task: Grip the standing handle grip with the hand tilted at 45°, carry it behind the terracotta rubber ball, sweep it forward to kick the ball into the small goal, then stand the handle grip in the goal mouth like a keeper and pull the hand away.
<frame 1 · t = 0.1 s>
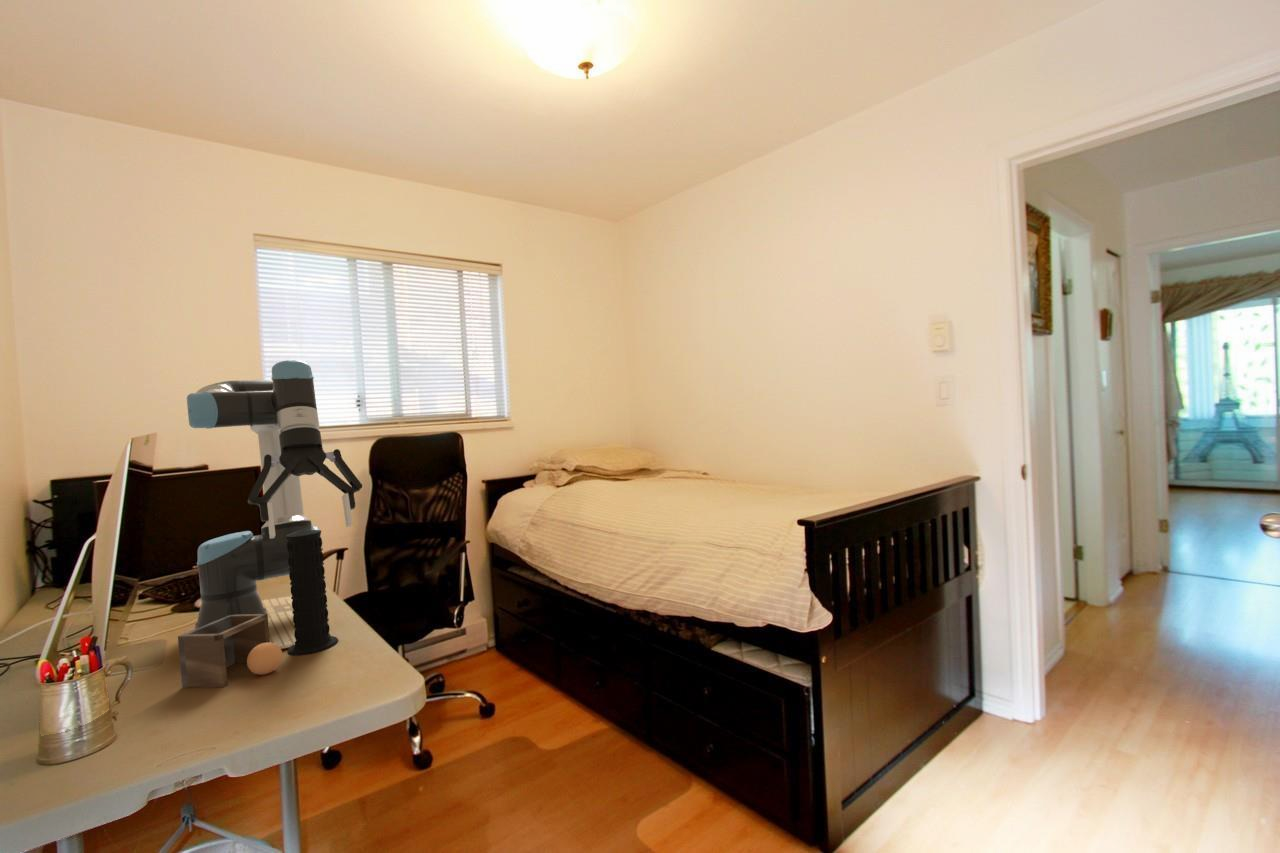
hand: (312, 531, 117), 28 cm above the table, tool tilted 20°, fingers open, 13 cm apart
goal: (228, 673, 118), on the table
handle grip: (313, 647, 130), on the table
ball: (264, 658, 117), point 3 cm above the table
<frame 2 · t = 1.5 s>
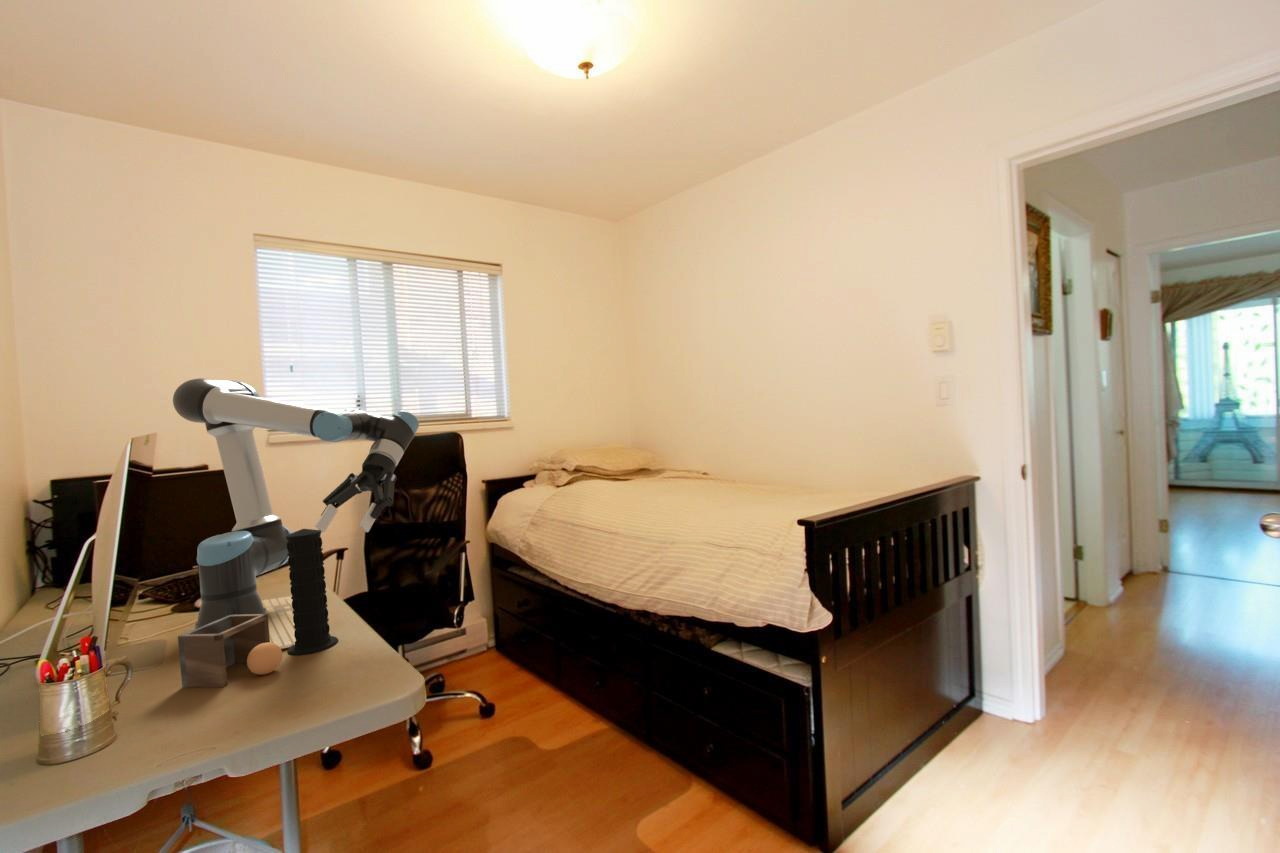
hand: (341, 529, 139), 24 cm above the table, tool tilted 45°, fingers open, 13 cm apart
nothing on the table moved.
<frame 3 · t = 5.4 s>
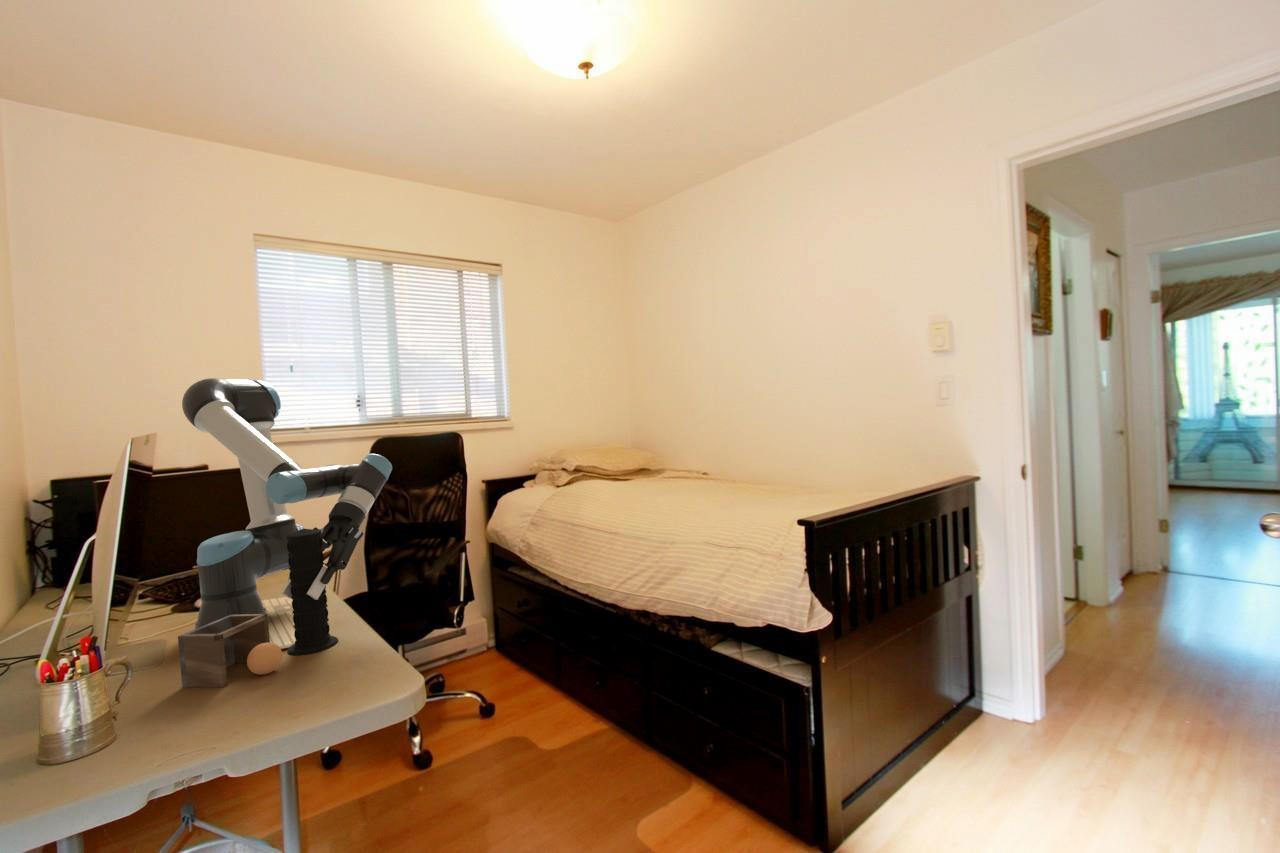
hand: (299, 596, 128), 12 cm above the table, tool tilted 45°, fingers closed on handle grip, 7 cm apart
handle grip: (313, 646, 130), on the table, touching gripper
everything else where it was.
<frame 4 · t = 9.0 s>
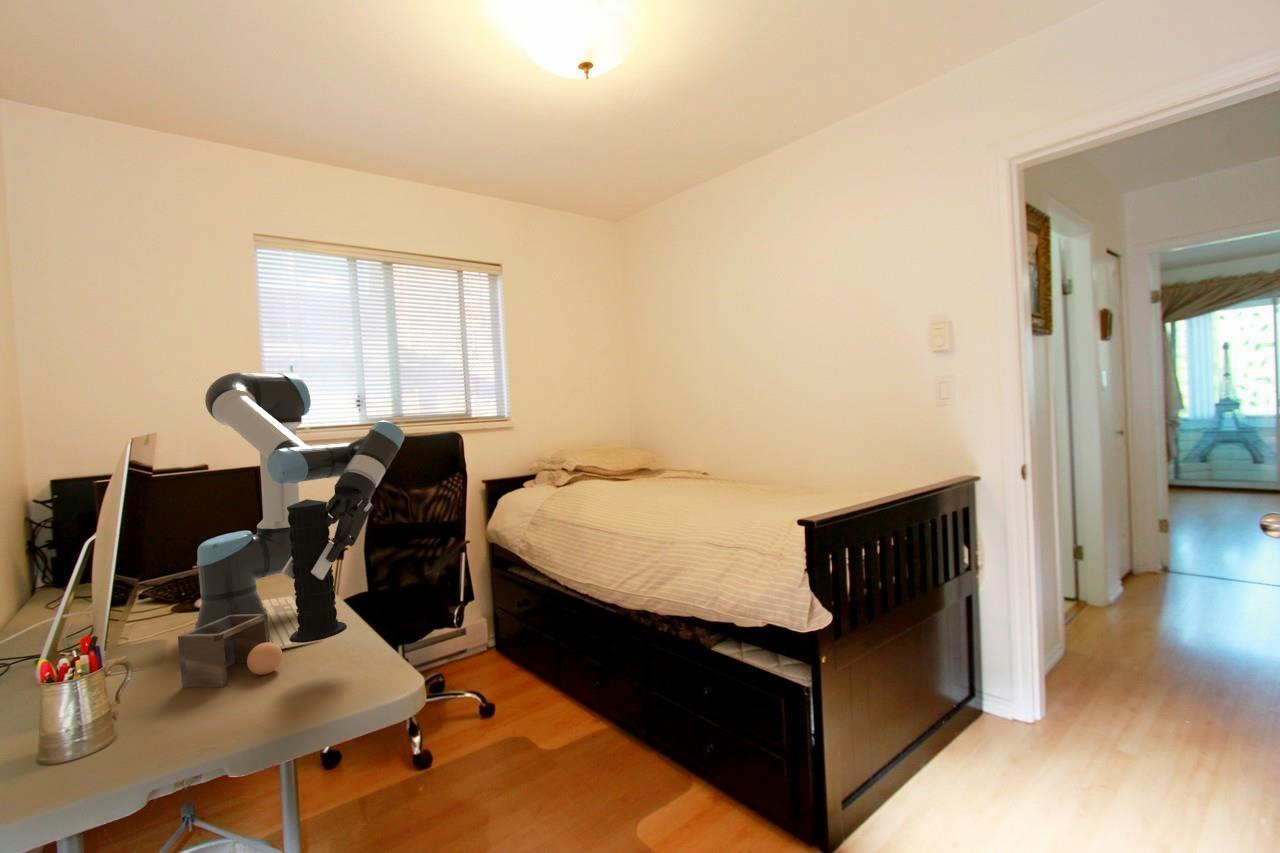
hand: (302, 575, 112), 20 cm above the table, tool tilted 45°, fingers closed on handle grip, 7 cm apart
handle grip: (319, 633, 115), point 8 cm above the table, touching gripper
everything else where it was.
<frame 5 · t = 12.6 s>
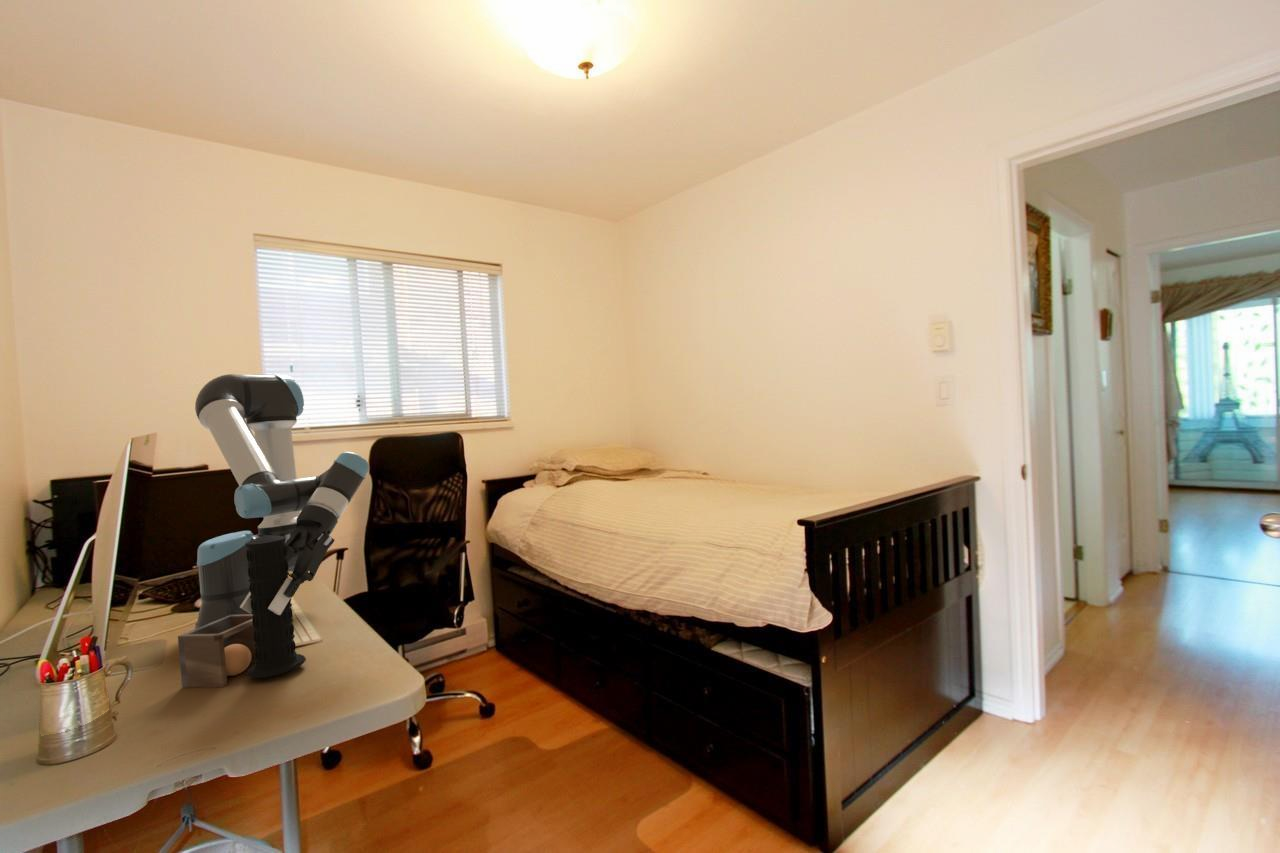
hand: (259, 610, 114), 13 cm above the table, tool tilted 45°, fingers closed on handle grip, 7 cm apart
handle grip: (277, 667, 117), point 1 cm above the table, touching gripper
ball: (233, 659, 117), point 3 cm above the table, tilted 123°
when the fingers open (13 cm above the table, at t = 12.8 s): handle grip drops 1 cm, on the table.
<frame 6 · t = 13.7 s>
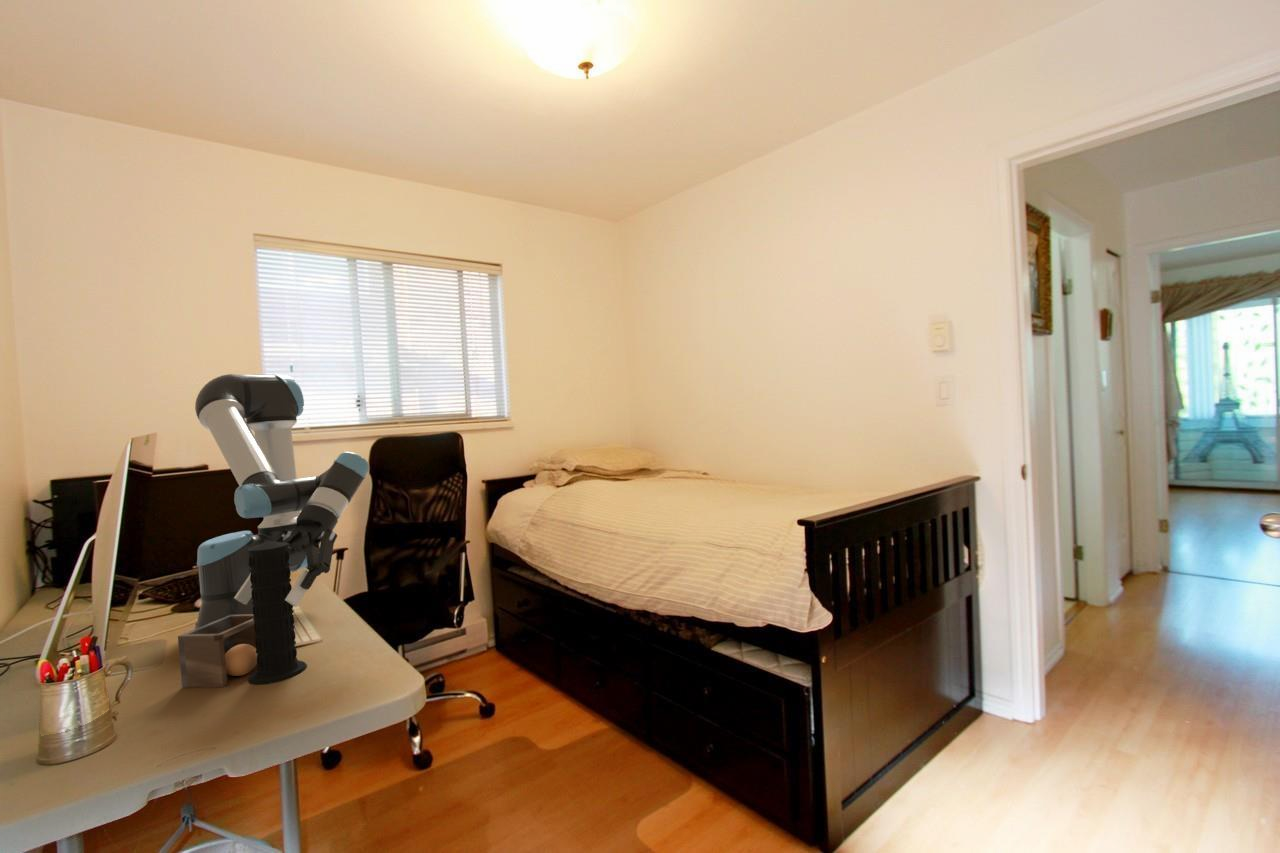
hand: (264, 602, 115), 15 cm above the table, tool tilted 45°, fingers open, 13 cm apart
handle grip: (278, 673, 117), on the table
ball: (240, 659, 117), point 3 cm above the table, tilted 91°
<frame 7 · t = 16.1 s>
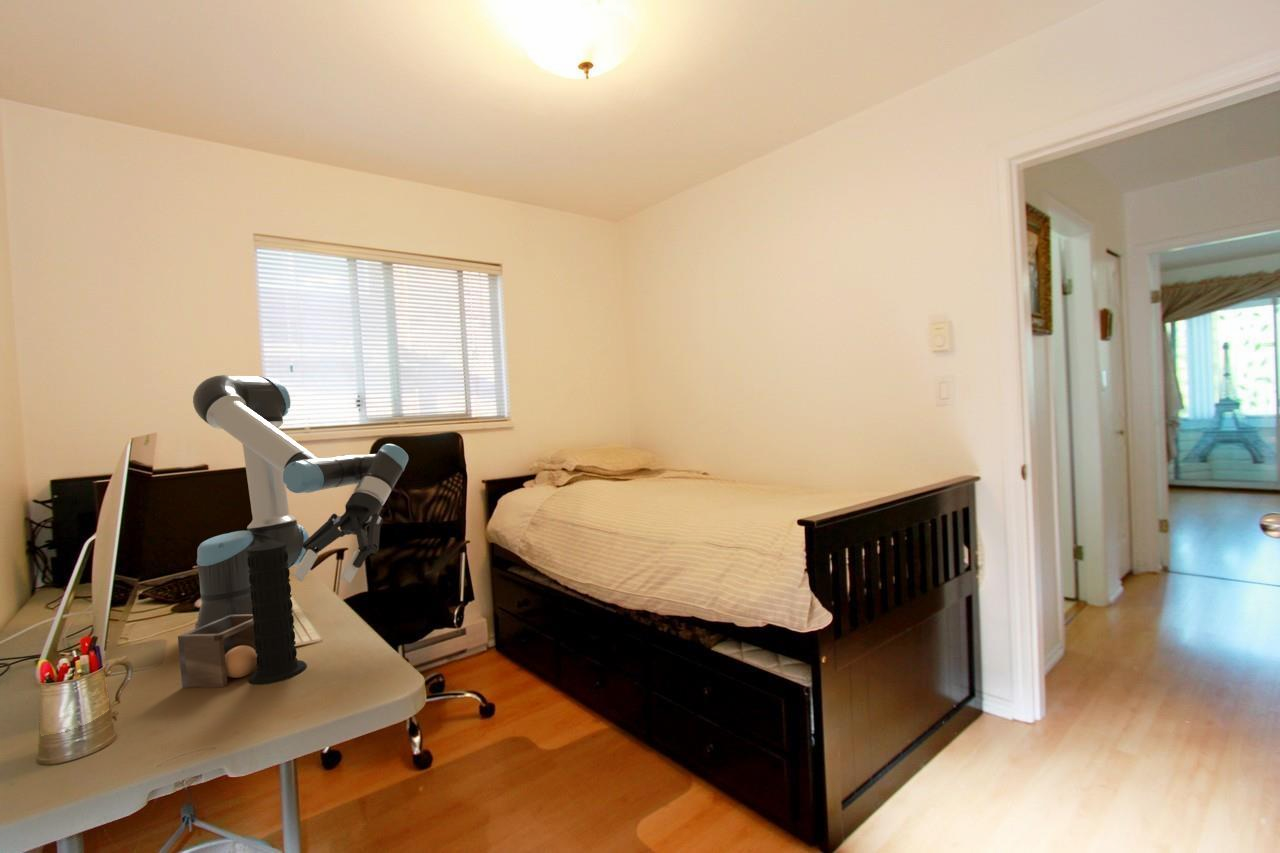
hand: (320, 579, 127), 15 cm above the table, tool tilted 45°, fingers open, 13 cm apart
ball: (240, 661, 116), point 3 cm above the table, tilted 79°
everything else where it was.
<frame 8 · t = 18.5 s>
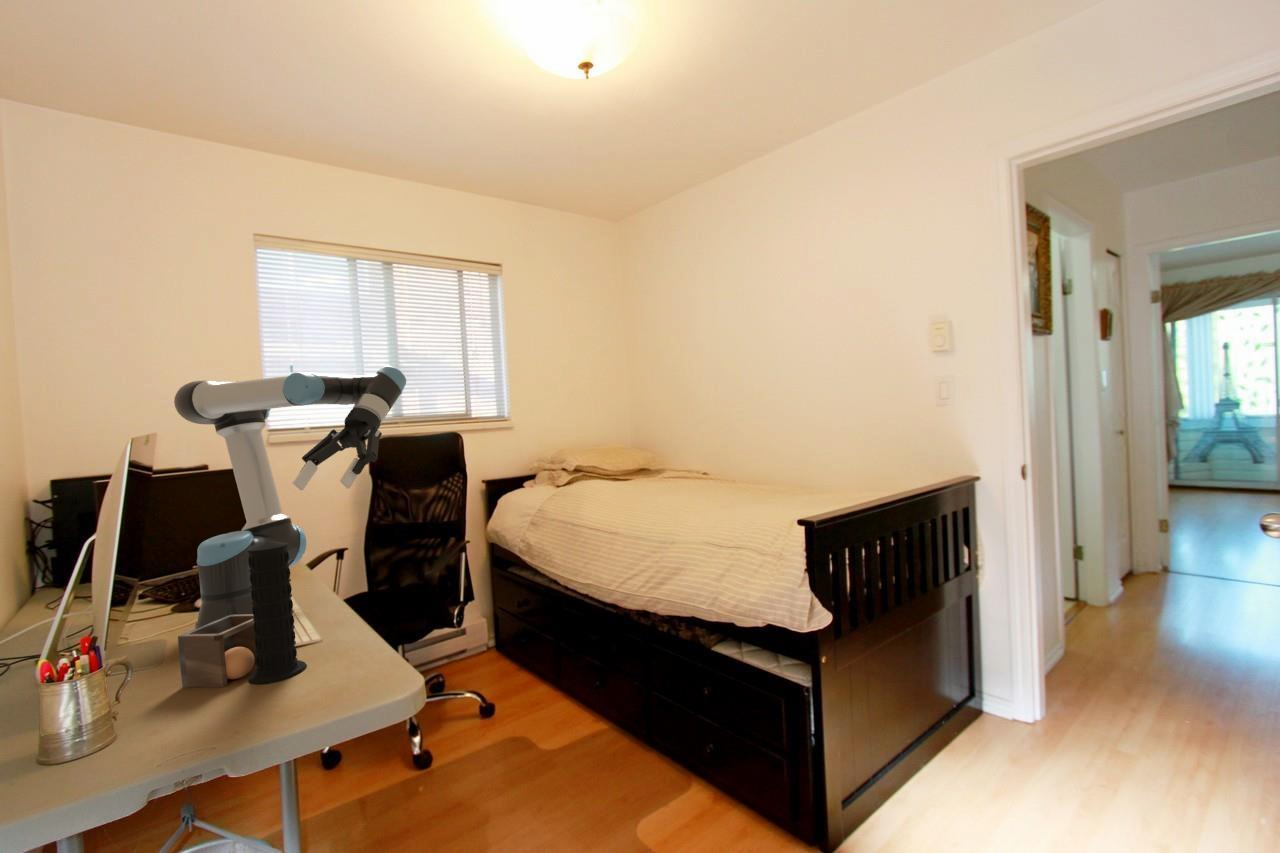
hand: (320, 485, 130), 36 cm above the table, tool tilted 45°, fingers open, 13 cm apart
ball: (236, 662, 116), point 3 cm above the table, tilted 85°
everything else where it was.
at the end: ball inside the target area (3.6 cm from its centre), point 3.0 cm above the table; handle grip tilted 1°; the gripper is holding nothing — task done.
